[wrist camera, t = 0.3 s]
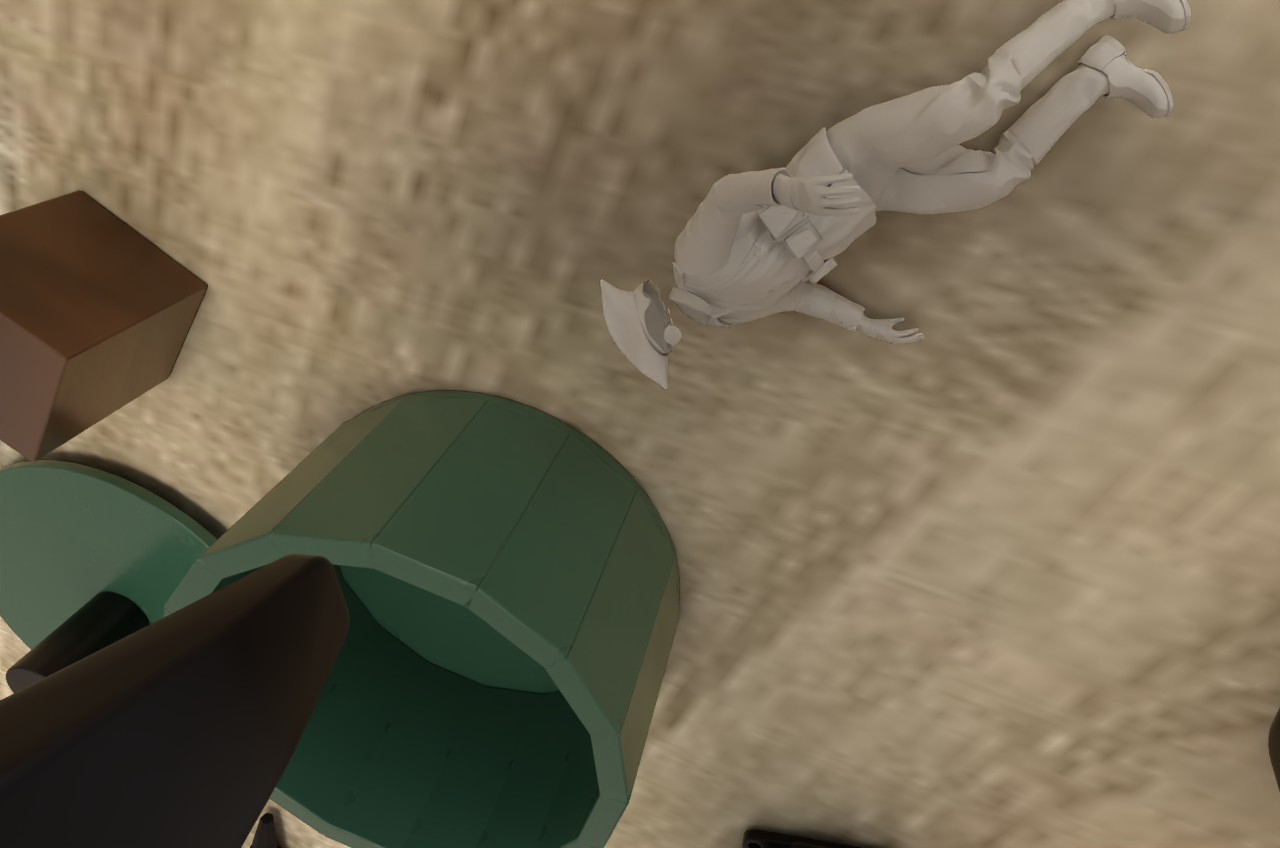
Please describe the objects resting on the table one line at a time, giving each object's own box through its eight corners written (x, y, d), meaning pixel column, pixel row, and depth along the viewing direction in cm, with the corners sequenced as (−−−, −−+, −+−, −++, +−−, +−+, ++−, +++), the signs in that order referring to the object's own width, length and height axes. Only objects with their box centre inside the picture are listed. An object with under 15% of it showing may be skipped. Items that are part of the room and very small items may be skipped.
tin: (689, 716, 30) (644, 919, 24) (368, 672, 33) (255, 840, 27) (667, 398, 23) (596, 565, 17) (267, 381, 27) (85, 516, 20)
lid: (339, 736, 36) (266, 846, 32) (78, 694, 40) (-20, 787, 36) (230, 462, 29) (117, 555, 25) (-78, 440, 33) (-225, 518, 28)
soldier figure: (1165, 187, 19) (757, 498, 21) (1018, 75, 21) (666, 367, 23) (1224, -82, 12) (617, 418, 14) (999, -203, 14) (510, 246, 17)
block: (208, 285, 25) (66, 359, 21) (168, 378, 28) (33, 463, 23) (79, 189, 25) (-96, 244, 20) (50, 293, 27) (-113, 364, 22)
